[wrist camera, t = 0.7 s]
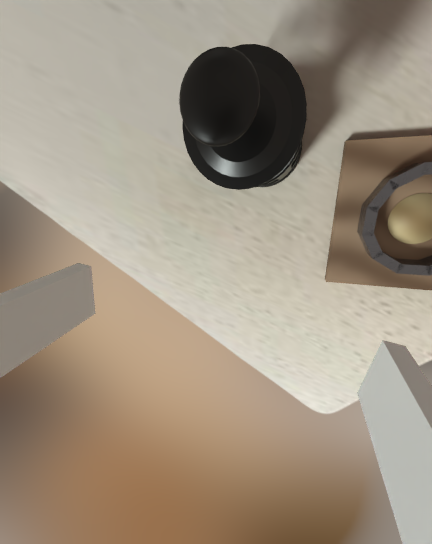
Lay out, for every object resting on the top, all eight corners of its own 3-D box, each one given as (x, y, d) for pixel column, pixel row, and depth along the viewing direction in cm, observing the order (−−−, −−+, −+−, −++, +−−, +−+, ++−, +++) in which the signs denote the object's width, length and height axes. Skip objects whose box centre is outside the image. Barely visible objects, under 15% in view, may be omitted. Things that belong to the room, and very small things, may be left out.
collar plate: (344, 141, 30) (346, 140, 29) (539, 129, 25) (551, 127, 24) (325, 278, 36) (326, 281, 35) (477, 290, 31) (484, 295, 30)
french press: (321, 152, 31) (378, 94, 10) (264, 205, 35) (223, 240, 14) (259, 79, 30) (185, -141, 9) (208, 142, 34) (80, 84, 14)
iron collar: (368, 165, 29) (375, 163, 27) (503, 160, 25) (523, 158, 23) (350, 264, 33) (355, 270, 31) (463, 271, 30) (477, 279, 27)
